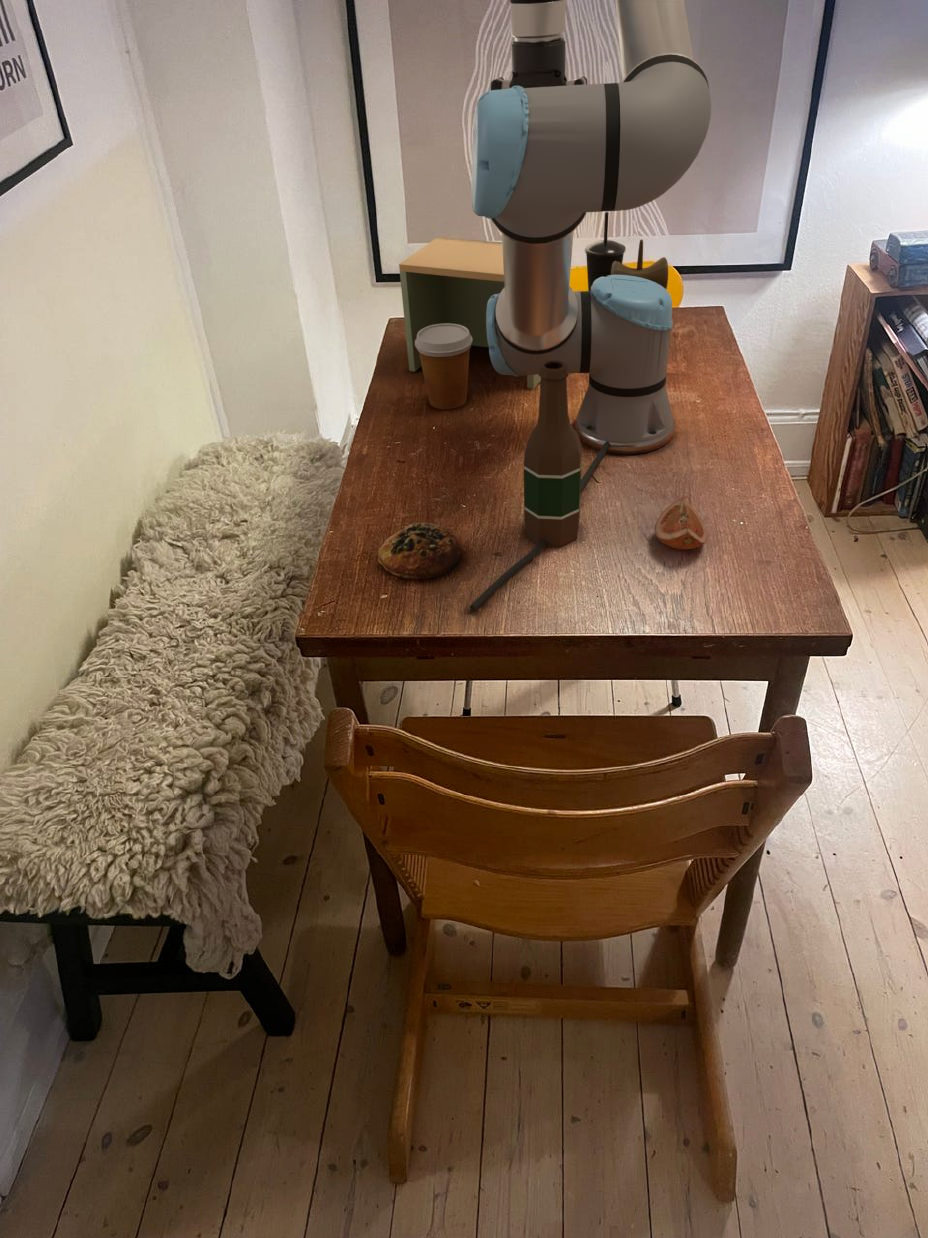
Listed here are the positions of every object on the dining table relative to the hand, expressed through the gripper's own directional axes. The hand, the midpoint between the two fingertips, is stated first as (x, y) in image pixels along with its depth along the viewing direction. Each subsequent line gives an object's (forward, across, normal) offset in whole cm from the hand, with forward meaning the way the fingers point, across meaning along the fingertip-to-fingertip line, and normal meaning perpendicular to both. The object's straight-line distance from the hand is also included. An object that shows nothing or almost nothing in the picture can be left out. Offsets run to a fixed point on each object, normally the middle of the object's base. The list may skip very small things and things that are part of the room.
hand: (539, 201), depth 139 cm
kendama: (+30, -11, -20) cm, 38 cm away
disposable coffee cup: (+30, +14, +9) cm, 35 cm away
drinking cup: (+30, -1, -33) cm, 45 cm away
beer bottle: (+32, -16, +41) cm, 54 cm away
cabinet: (+30, +13, -7) cm, 34 cm away
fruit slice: (+32, -33, +39) cm, 60 cm away
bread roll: (+32, -1, +52) cm, 61 cm away
